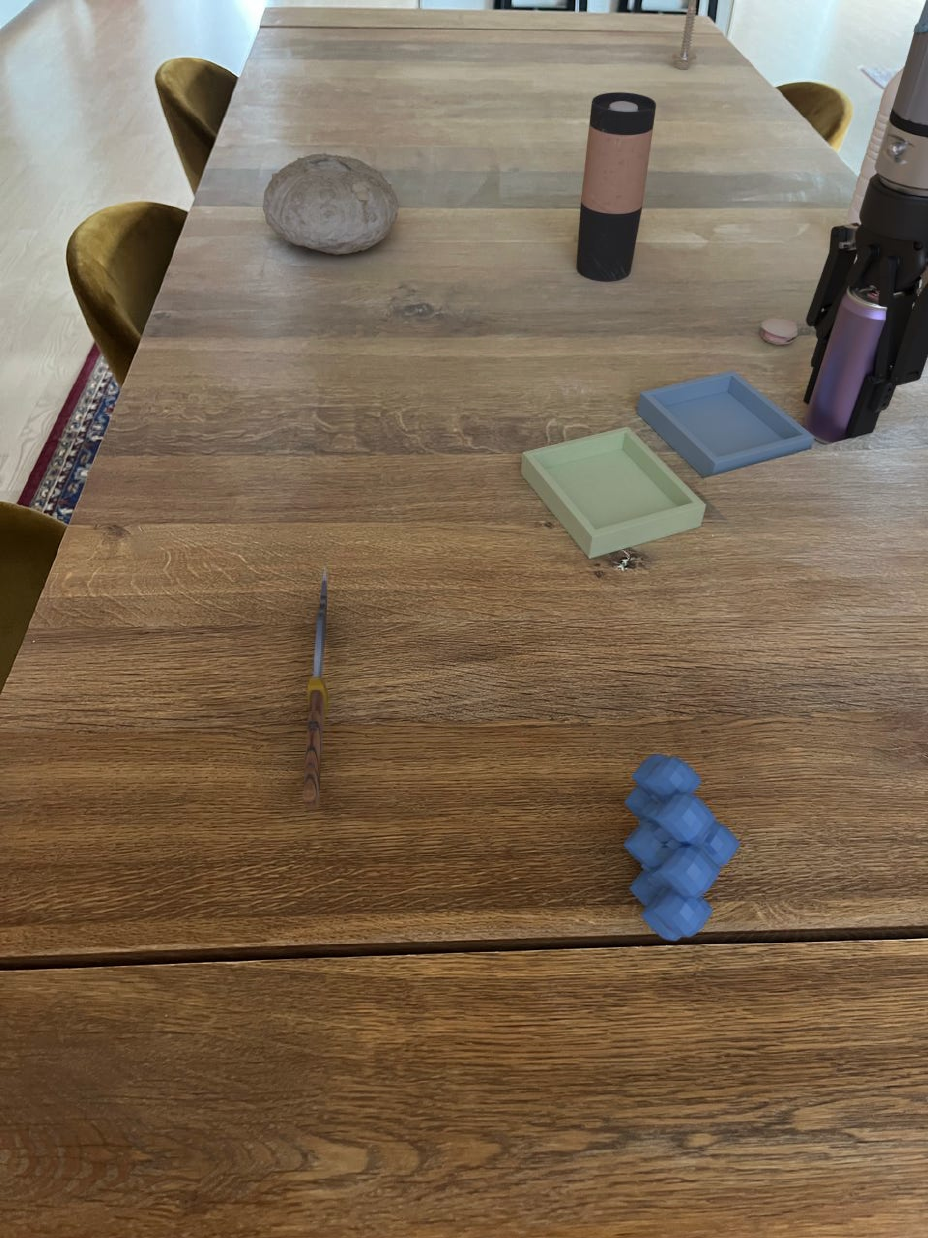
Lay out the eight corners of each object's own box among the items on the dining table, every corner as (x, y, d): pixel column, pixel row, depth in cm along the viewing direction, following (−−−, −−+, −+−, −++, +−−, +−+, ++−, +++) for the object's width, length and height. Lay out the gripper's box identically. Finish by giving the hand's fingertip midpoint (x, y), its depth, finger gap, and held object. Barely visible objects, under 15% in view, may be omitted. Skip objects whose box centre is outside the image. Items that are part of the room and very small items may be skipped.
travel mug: (563, 263, 124) (578, 96, 110) (611, 252, 127) (632, 88, 113) (594, 287, 119) (615, 115, 105) (644, 275, 122) (670, 106, 108)
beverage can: (836, 455, 94) (886, 314, 83) (789, 427, 97) (831, 288, 87) (874, 435, 96) (926, 296, 86) (827, 409, 100) (872, 272, 89)
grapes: (741, 986, 55) (795, 881, 47) (626, 987, 55) (660, 883, 47) (701, 816, 63) (740, 701, 55) (601, 817, 63) (626, 702, 55)
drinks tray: (808, 457, 93) (815, 436, 92) (710, 484, 90) (715, 463, 88) (728, 390, 102) (733, 369, 100) (636, 412, 99) (639, 391, 97)
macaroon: (751, 338, 110) (755, 318, 109) (777, 325, 113) (782, 306, 111) (781, 353, 108) (786, 332, 106) (807, 339, 110) (813, 319, 109)
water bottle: (837, 242, 130) (898, 35, 112) (886, 250, 128) (956, 41, 111) (832, 268, 124) (896, 54, 106) (884, 276, 123) (957, 60, 105)
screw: (684, 62, 192) (699, 68, 189) (665, 65, 190) (680, 72, 187) (696, -13, 183) (712, -8, 180) (676, -11, 181) (692, -5, 178)
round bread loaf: (422, 230, 131) (421, 154, 124) (359, 281, 119) (354, 201, 112) (311, 207, 136) (304, 132, 129) (241, 254, 124) (229, 175, 117)
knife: (319, 586, 79) (313, 541, 75) (336, 586, 79) (331, 540, 76) (304, 843, 62) (296, 799, 58) (326, 841, 62) (318, 798, 58)
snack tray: (700, 526, 85) (706, 504, 84) (589, 559, 82) (592, 537, 80) (624, 447, 94) (627, 425, 92) (520, 473, 91) (522, 451, 89)
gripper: (809, 148, 84) (750, 378, 100) (968, 229, 72) (871, 476, 88) (875, 138, 86) (807, 364, 103) (1040, 215, 74) (933, 458, 90)
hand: (837, 416), depth 95 cm, fingers closed on beverage can, 6 cm apart
